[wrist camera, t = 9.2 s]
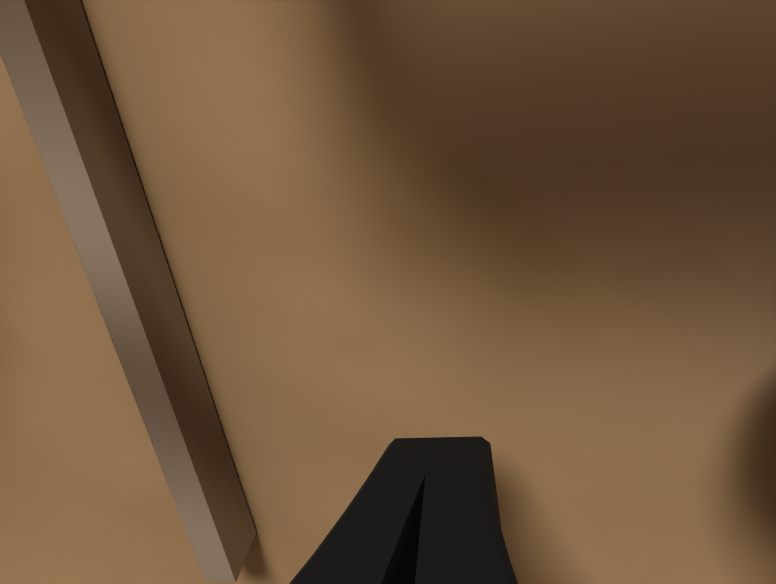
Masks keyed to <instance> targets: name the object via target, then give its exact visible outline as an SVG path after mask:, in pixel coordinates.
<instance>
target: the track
mask: <svg viewBox="0 0 776 584" xmlns="http://www.w3.org/2000/svg"><path fill="white" fill-rule="evenodd" d="M0 54H1V57H2V59H3V62H4V64H5V67H6V69H7V72H8V75H9V77H10V80H11V82H12V85H13V87H14V90H15V93H16V95H17V98H18V100H19V103H20V105H21V108H22V111H23V113H24V116H25V118H26V121H27V123H28V126H29V128H30V131H31V134H32V136H33V139H34V141H35V144H36V146H37V149H38V152H39V154H40V157H41V159H42V162H43V164H44V167H45V170H46V172H47V175H48V177H49V180H50V182H51V185H52V188H53V190H54V193H55V195H56V198H57V200H58V203H59V206H60V208H61V211H62V213H63V216H64V218H65V221H66V224H67V226H68V229H69V231H70V234H71V236H72V239H73V242H74V244H75V247H76V249H77V252H78V254H79V257H80V260H81V262H82V265H83V267H84V270H85V272H86V275H87V278H88V280H89V283H90V285H91V288H92V290H93V293H94V296H95V298H96V301H97V303H98V306H99V308H100V311H101V314H102V316H103V319H104V321H105V324H106V326H107V329H108V332H109V334H110V337H111V339H112V342H113V344H114V347H115V350H116V352H117V355H118V357H119V360H120V362H121V365H122V367H123V370H124V373H125V375H126V378H127V380H128V383H129V385H130V388H131V391H132V393H133V396H134V398H135V401H136V403H137V406H138V409H139V411H140V414H141V416H142V419H143V421H144V424H145V427H146V429H147V432H148V434H149V437H150V439H151V442H152V445H153V447H154V450H155V452H156V455H157V457H158V460H159V463H160V465H161V468H162V470H163V473H164V475H165V478H166V481H167V483H168V486H169V488H170V491H171V493H172V496H173V499H174V501H175V504H176V506H177V509H178V511H179V514H180V517H181V519H182V522H183V524H184V527H185V529H186V532H187V535H188V537H189V540H190V542H191V545H192V547H193V550H194V553H195V555H196V558H197V560H198V563H199V565H200V568H201V571H202V573H203V576H204V578H205V581H206V582H236V580H237V578H238V576H239V573H240V571H241V568H242V566H243V564H244V561H245V559H246V557H247V554H248V552H249V550H250V547H251V545H252V542H253V540H254V538H255V535H256V530H255V527H254V524H253V521H252V518H251V515H250V512H249V509H248V506H247V503H246V500H245V497H244V494H243V491H242V488H241V485H240V482H239V479H238V476H237V473H236V470H235V467H234V464H233V461H232V458H231V455H230V452H229V449H228V446H227V442H226V439H225V436H224V433H223V430H222V427H221V424H220V421H219V418H218V415H217V412H216V409H215V406H214V403H213V400H212V397H211V394H210V391H209V388H208V385H207V382H206V379H205V376H204V373H203V370H202V367H201V364H200V361H199V358H198V355H197V352H196V349H195V346H194V343H193V340H192V337H191V334H190V331H189V328H188V325H187V322H186V319H185V316H184V313H183V310H182V307H181V304H180V300H179V297H178V294H177V291H176V288H175V285H174V282H173V279H172V276H171V273H170V270H169V267H168V264H167V261H166V258H165V255H164V252H163V249H162V246H161V243H160V240H159V237H158V234H157V231H156V228H155V225H154V222H153V219H152V216H151V213H150V210H149V207H148V204H147V201H146V198H145V195H144V192H143V189H142V186H141V183H140V180H139V177H138V174H137V171H136V168H135V165H134V162H133V158H132V155H131V152H130V149H129V146H128V143H127V140H126V137H125V134H124V131H123V128H122V125H121V122H120V119H119V116H118V113H117V110H116V107H115V104H114V101H113V98H112V95H111V92H110V89H109V86H108V83H107V80H106V77H105V74H104V71H103V68H102V65H101V62H100V59H99V56H98V53H97V50H96V47H95V44H94V41H93V38H92V35H91V32H90V29H89V26H88V23H87V20H86V16H85V13H84V10H83V7H82V4H81V1H80V0H0Z"/></svg>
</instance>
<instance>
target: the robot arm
mask: <svg viewBox="0 0 776 584" xmlns="http://www.w3.org/2000/svg"><path fill="white" fill-rule="evenodd" d="M290 584H518V583H517V580H516V577H515V574H514V571H513V568H512V565H511V562H510V559H509V555H508V552H507V548H506V545H505V542H504V538H503V535H502V531H501V523H500V516H499V508H498V500H497V492H496V484H495V477H494V469H493V461H492V453H491V446H490V443H489V442H488V441H486V440H485V439H484V438H483V437H442V438H398V439H394V440H393V441H392V442H391V443H390V444H389V445H388V447H387V449H386V450H385V452H384V453H383V455H382V457H381V458H380V460H379V461H378V463H377V464H376V466H375V467H374V469H373V470H372V472H371V474H370V475H369V477H368V478H367V480H366V481H365V483H364V484H363V486H362V487H361V489H360V490H359V491H358V493H357V494H356V496H355V497H354V499H353V500H352V502H351V503H350V505H349V506H348V508H347V509H346V510H345V512H344V513H343V514H342V516H341V517H340V519H339V520H338V521H337V523H336V524H335V525H334V527H333V528H332V529H331V531H330V532H329V534H328V535H327V536H326V538H325V539H324V540H323V542H322V543H321V545H320V546H319V547H318V549H317V550H316V551H315V553H314V554H313V555H312V556H311V558H310V559H309V560H308V561H307V563H306V564H305V565H304V566H303V568H302V569H301V570H300V571H299V573H298V574H297V575H296V576H295V577H294V579H293V580H292V581H291V582H290Z"/></svg>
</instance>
